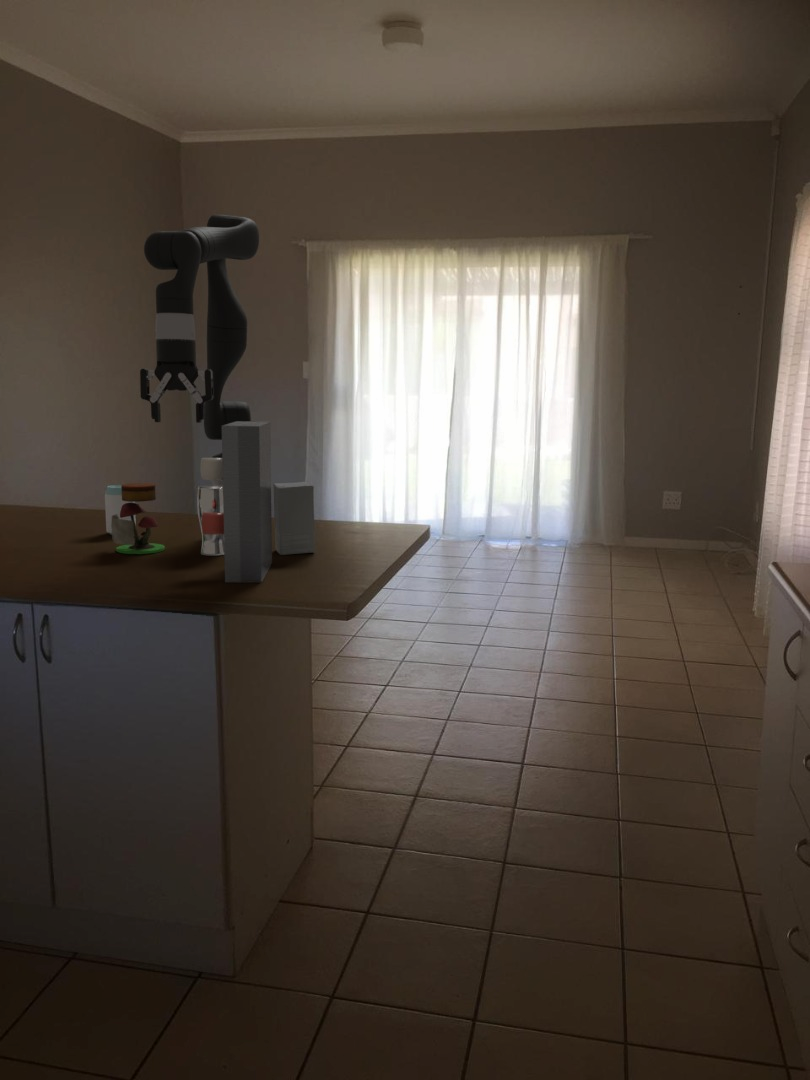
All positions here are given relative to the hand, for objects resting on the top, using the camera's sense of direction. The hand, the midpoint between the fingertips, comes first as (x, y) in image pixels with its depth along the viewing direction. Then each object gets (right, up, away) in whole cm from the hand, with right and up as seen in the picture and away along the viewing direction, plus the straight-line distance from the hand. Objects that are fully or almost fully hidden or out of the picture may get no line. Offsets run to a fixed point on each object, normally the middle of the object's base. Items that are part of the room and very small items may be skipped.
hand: (178, 422), depth 176 cm
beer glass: (+2, -27, +23) cm, 35 cm away
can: (-26, -22, +46) cm, 57 cm away
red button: (+7, -22, +2) cm, 23 cm away
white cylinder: (+7, -11, 0) cm, 14 cm away
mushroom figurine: (-15, -26, +26) cm, 40 cm away
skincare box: (+20, -26, +26) cm, 42 cm away
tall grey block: (+14, -30, +4) cm, 33 cm away
